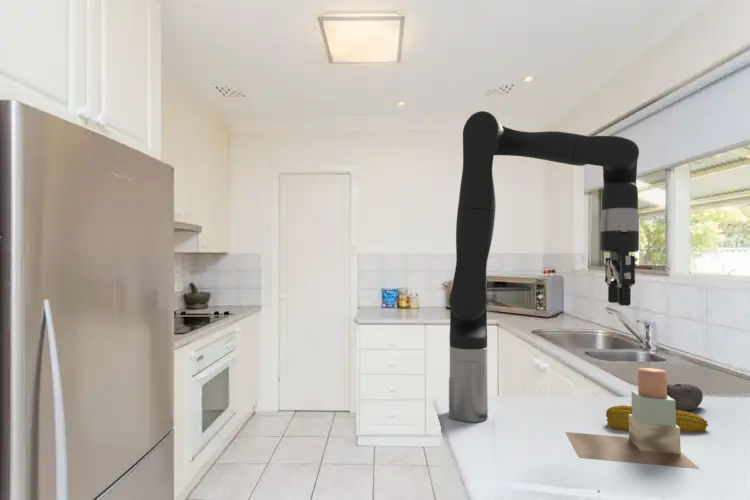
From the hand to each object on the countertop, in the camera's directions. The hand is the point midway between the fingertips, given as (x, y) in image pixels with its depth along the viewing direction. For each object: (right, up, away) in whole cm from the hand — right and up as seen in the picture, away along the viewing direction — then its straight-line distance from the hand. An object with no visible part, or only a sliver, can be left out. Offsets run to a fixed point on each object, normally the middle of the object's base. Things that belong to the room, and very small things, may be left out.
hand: (618, 303), depth 100 cm
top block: (+3, -23, -8) cm, 24 cm away
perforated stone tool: (+28, -31, +20) cm, 46 cm away
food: (+10, -30, +3) cm, 31 cm away
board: (-4, -29, -10) cm, 30 cm away
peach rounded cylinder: (+3, -18, -7) cm, 19 cm away
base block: (+3, -28, -8) cm, 29 cm away
